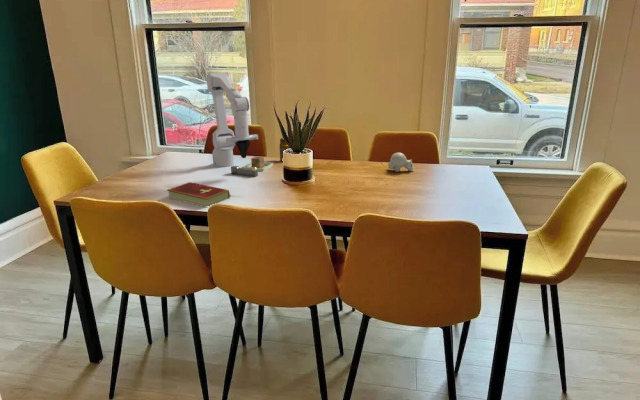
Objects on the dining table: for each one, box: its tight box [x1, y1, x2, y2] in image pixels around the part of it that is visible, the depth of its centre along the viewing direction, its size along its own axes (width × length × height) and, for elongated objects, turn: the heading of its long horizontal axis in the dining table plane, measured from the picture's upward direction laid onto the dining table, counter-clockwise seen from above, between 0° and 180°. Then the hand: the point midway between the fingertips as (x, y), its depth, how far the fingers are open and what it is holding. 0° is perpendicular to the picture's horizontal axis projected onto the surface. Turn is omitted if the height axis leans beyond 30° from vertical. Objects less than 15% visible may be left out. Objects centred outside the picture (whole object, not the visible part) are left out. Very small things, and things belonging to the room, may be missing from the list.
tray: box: [241, 161, 274, 172], centre depth 206 cm, size 11×11×2 cm
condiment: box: [279, 137, 288, 162], centre depth 216 cm, size 7×8×12 cm
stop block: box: [250, 155, 265, 168], centre depth 206 cm, size 4×4×5 cm
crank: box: [230, 165, 259, 178], centre depth 194 cm, size 13×4×4 cm, turn 65°
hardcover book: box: [167, 181, 231, 207], centre depth 167 cm, size 12×21×4 cm, turn 59°
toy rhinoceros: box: [387, 152, 416, 173], centre depth 199 cm, size 7×12×8 cm, turn 81°
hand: (243, 157), depth 190 cm, fingers closed
